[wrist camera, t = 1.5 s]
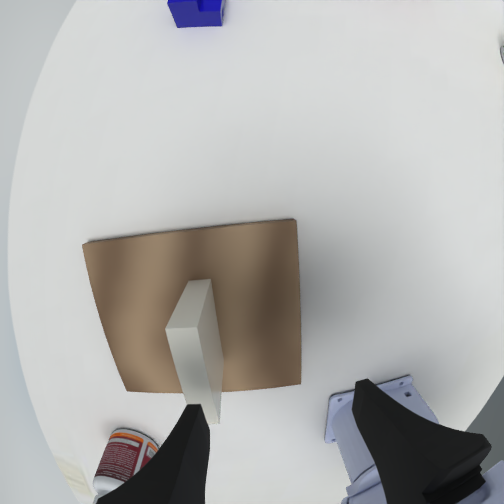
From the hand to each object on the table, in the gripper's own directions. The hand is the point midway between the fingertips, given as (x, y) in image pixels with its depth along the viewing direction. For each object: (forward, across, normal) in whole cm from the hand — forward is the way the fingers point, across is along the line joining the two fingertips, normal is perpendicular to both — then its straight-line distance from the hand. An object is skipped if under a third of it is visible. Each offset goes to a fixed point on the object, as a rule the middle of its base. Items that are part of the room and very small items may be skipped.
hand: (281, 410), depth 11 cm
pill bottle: (+11, +16, +17) cm, 26 cm away
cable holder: (+11, +2, -27) cm, 29 cm away
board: (+10, +5, 0) cm, 12 cm away
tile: (+10, +4, 0) cm, 10 cm away
